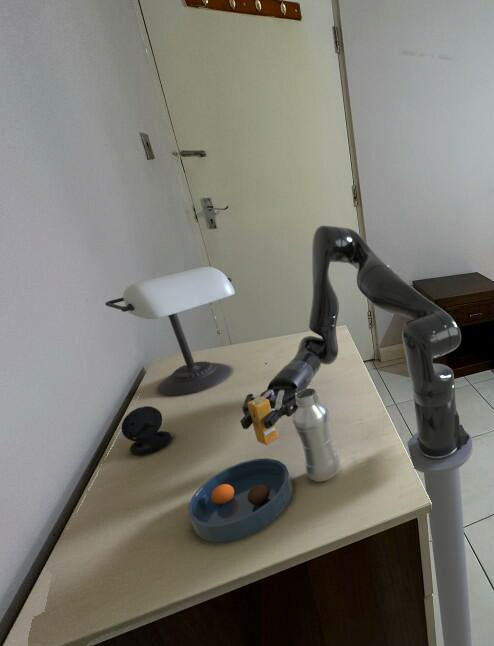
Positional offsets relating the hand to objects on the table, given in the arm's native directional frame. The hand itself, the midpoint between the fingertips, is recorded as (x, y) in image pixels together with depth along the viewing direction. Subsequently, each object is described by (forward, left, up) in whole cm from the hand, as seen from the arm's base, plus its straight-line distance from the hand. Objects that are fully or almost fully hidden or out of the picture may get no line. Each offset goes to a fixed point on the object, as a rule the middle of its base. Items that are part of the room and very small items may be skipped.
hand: (255, 425), depth 83 cm
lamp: (+23, -45, -10) cm, 52 cm away
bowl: (+2, +12, -10) cm, 15 cm away
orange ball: (+6, +10, -7) cm, 14 cm away
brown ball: (-1, +13, -7) cm, 15 cm away
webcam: (+26, -16, -10) cm, 32 cm away
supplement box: (-1, -3, -6) cm, 7 cm away
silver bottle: (-12, +9, -10) cm, 18 cm away
